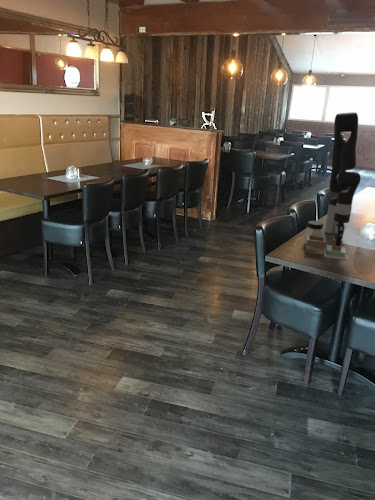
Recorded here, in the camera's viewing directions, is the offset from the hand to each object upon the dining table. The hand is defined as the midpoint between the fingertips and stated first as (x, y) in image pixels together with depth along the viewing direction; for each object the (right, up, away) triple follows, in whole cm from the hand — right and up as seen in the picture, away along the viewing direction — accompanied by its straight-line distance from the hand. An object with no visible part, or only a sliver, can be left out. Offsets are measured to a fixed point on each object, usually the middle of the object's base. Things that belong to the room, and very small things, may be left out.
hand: (337, 242), depth 210 cm
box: (-10, -4, +5) cm, 12 cm away
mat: (0, -6, +2) cm, 6 cm away
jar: (-8, 0, +16) cm, 18 cm away
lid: (0, -5, +2) cm, 6 cm away
